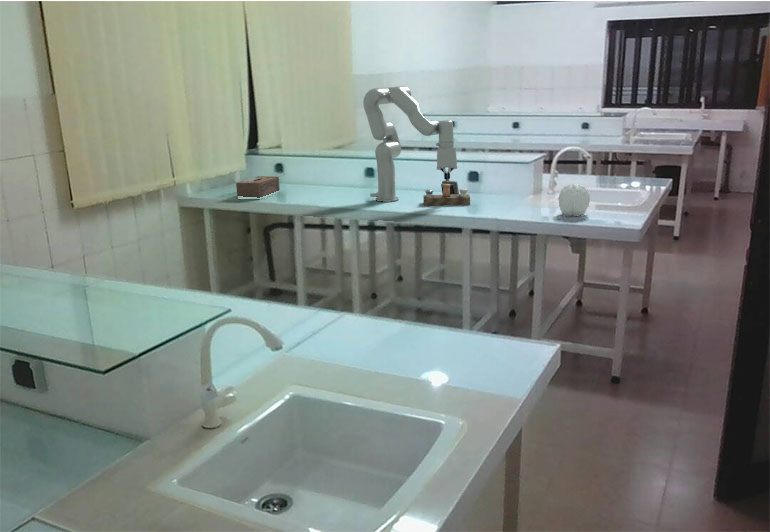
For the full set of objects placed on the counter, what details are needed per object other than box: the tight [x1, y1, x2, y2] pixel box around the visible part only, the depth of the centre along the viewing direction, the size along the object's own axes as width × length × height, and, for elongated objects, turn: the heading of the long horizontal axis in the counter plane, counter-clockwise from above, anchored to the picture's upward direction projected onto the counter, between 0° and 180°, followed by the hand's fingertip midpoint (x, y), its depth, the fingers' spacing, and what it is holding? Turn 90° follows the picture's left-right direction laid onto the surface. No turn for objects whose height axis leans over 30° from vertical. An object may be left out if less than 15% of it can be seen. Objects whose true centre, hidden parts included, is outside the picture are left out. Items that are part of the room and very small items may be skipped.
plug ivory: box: [459, 188, 469, 197], centre depth 343 cm, size 4×4×7 cm
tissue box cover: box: [235, 175, 281, 198], centre depth 387 cm, size 26×14×10 cm, turn 163°
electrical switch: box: [440, 179, 460, 195], centre depth 362 cm, size 9×5×9 cm, turn 57°
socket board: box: [423, 193, 471, 207], centre depth 344 cm, size 24×10×4 cm, turn 88°
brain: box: [557, 183, 591, 217], centre depth 307 cm, size 14×18×18 cm
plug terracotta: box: [441, 183, 450, 197], centre depth 343 cm, size 4×4×7 cm
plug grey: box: [425, 189, 434, 197], centre depth 344 cm, size 4×4×7 cm
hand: (447, 180), depth 341 cm, fingers closed
